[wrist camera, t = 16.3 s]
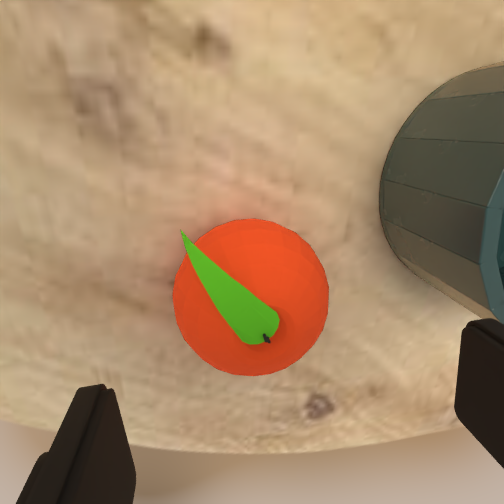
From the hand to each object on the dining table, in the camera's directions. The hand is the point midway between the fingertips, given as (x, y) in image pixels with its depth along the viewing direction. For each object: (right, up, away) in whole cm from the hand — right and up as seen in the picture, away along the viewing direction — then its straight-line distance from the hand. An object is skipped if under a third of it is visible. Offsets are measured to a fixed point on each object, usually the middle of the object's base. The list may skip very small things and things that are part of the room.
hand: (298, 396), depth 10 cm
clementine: (-2, +3, +10) cm, 11 cm away
